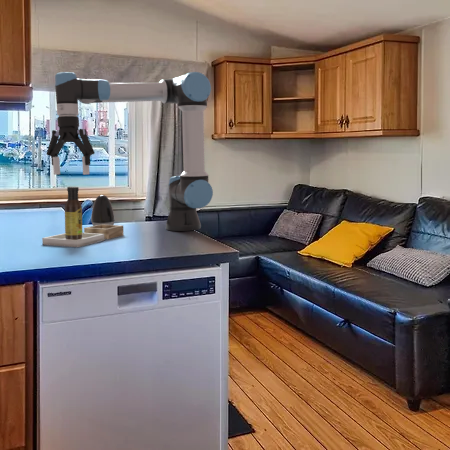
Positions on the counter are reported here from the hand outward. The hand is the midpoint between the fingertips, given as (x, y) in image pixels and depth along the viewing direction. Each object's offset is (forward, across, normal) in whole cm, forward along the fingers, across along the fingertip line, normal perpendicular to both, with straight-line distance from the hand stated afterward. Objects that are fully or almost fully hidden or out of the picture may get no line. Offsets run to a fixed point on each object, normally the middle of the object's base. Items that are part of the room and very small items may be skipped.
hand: (71, 174), depth 199 cm
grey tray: (+26, 0, 0) cm, 26 cm away
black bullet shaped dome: (+26, -11, +33) cm, 43 cm away
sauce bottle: (+25, 0, 0) cm, 25 cm away
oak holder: (+26, +2, +16) cm, 30 cm away
